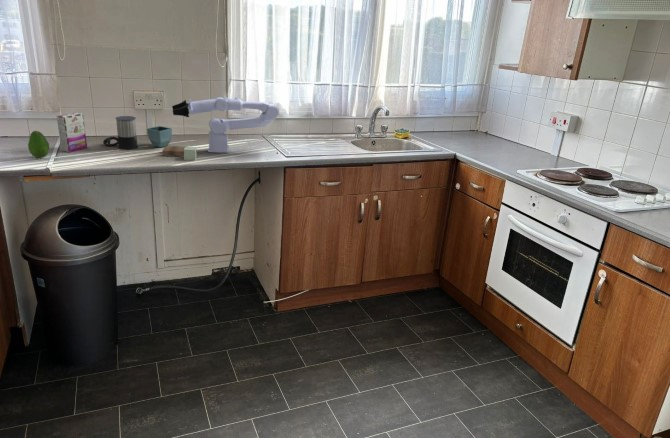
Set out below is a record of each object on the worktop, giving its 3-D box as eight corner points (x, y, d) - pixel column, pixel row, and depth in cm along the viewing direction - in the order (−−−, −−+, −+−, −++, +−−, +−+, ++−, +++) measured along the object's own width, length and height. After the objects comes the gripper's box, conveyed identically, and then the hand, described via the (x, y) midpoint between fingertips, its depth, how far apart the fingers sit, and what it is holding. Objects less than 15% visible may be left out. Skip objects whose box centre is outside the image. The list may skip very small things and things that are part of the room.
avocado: (28, 160, 217) (23, 132, 212) (32, 155, 224) (28, 128, 219) (48, 160, 219) (44, 132, 215) (52, 155, 226) (49, 128, 222)
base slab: (187, 151, 249) (186, 146, 248) (184, 156, 240) (184, 151, 239) (165, 150, 247) (165, 145, 246) (162, 155, 238) (162, 150, 237)
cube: (196, 157, 240) (196, 147, 238) (195, 160, 236) (195, 149, 234) (185, 157, 239) (185, 146, 238) (184, 160, 235) (183, 149, 233)
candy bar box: (79, 146, 243) (75, 112, 237) (87, 147, 242) (83, 113, 236) (60, 151, 233) (55, 115, 227) (69, 152, 232) (64, 117, 226)
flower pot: (147, 146, 253) (146, 128, 250) (160, 143, 260) (159, 125, 257) (160, 149, 249) (159, 131, 246) (173, 146, 257) (172, 128, 253)
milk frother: (138, 150, 245) (136, 119, 239) (102, 150, 239) (99, 119, 234) (137, 143, 257) (135, 113, 252) (103, 143, 251) (100, 113, 246)
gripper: (199, 94, 248) (170, 98, 245) (201, 102, 236) (171, 106, 233) (201, 108, 252) (173, 112, 248) (203, 116, 239) (174, 121, 236)
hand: (172, 110), depth 241 cm, fingers open, 7 cm apart
